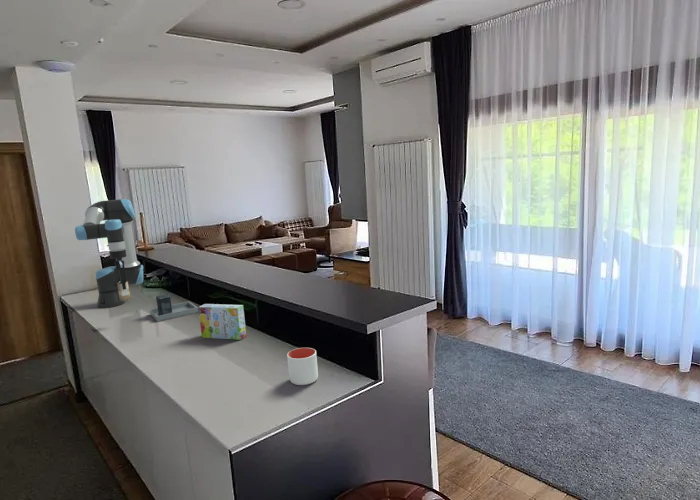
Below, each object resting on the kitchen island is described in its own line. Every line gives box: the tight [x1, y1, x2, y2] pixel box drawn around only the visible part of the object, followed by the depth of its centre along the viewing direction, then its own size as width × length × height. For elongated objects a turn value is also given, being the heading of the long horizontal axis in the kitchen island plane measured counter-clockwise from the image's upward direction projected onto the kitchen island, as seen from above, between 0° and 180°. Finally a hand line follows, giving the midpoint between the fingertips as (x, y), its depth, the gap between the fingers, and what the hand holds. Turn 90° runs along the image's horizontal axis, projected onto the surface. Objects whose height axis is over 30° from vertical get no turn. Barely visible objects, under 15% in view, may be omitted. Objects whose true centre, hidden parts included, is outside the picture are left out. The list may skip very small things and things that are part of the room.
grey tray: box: [149, 301, 199, 323], centre depth 249 cm, size 18×22×3 cm
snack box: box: [197, 303, 247, 341], centre depth 204 cm, size 21×6×15 cm, turn 71°
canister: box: [117, 281, 132, 302], centre depth 231 cm, size 5×5×9 cm
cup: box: [286, 347, 319, 386], centre depth 155 cm, size 10×10×10 cm
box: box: [155, 293, 172, 315], centre depth 245 cm, size 8×6×11 cm
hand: (124, 294), depth 231 cm, fingers closed on canister, 5 cm apart
